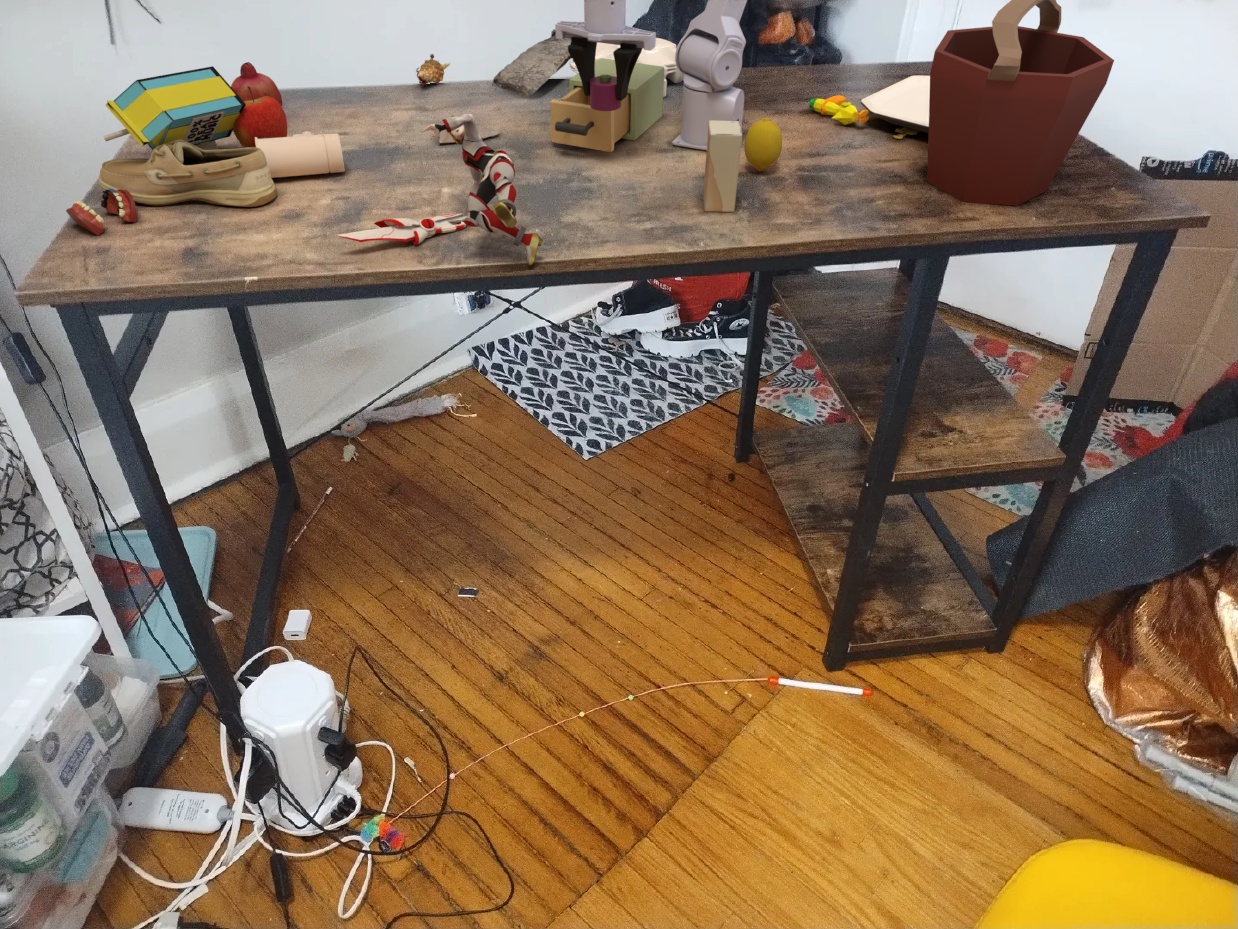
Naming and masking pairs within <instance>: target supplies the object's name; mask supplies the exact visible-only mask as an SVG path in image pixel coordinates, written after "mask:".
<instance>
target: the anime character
mask: <svg viewBox="0 0 1238 929" xmlns="http://www.w3.org/2000/svg"><path fill="white" fill-rule="evenodd" d="M441 121H442V122H443V124H437V123H431V124H429V125H427V126H426V127H425V128H424V129H423V130H422V133H425V132H429V131H431V132H433V133H434V134H429V136H430V137H431V138H435V137H437V136H438V135H440V132H441V131H443V130H445V129H446V130H447V132H448V133H449V134H450V135H451V137H452V138H453V141H454V140H455V142H454V143H455V144H456V145H461V150H462V161H463V163H464V164H465V165H466V166H467V167H468V168H469V170H470V174H471V175H470V176H471V178H472V180H473V184H472V185H473V186H472V188H471V190H470V192H469V193H468V198H467V199H468V200H467V210H468V211H467V215H465V216H464V213H448V214H441V215H435V216H430V217H427V218H421V219H420V220H414V219H411V218H405V217H404V218H402V217H396V218H386V219H382V220H377V221H375V222H374V225H375V226H377V227H378V228H372V229H364V230H359V231H353V232H346V233H341V234H335V236H336V237H340V238H343V239H347V240H350V241H354V242H358V243H365V242H373V241H398V242H405V243H407V242H411V241H412V243H413V245H414V246H417V245H419V244H420V243H422V242H423V241H424V240H425V239H426V238H431V237H434V235H435V234H439V233H440V234H441V233H442V234H444V233H452V232H456V231H457V230H458V231H459V230H464V229H465V228H466V227H471V228H481V229H482V230H484V231H486V232H489V233H493V234H496V233H497V234H500V235H503V236H506V237H508V238H510V239H512V240H513V243H512V244H513V245H515V246H516V247H519V246H520V245H521V246H523V247H524V248H525V251H526V262H527V264H526V265H527V266H528V267H532V266H533V264H534V262H535V260H536V257H537V250H538V247H541V246H542V245H543V239H542V237H541V236H540V235H539V234H538V232H539V230H538V229H535V232H531V233H527V232H526V231H527V229H528V228H527V227H525V226H523V225H521V226H520V227H519V228H518V227H517V226H516V225H517V222H518V221H517V218H516V216H517V207H516V204H515V202H516V198H517V189H516V188H515V187H514V185H513V182H514V180H515V177H516V169H515V164H514V163H513V160H512V159H511V157H510V155H509V154H508V152H506V151H505V150H503V149H501V150H500V149H499V150H494V149H493V148H491V147H490V146H488V145H487V144H486V143H485V142H484V140H483V138H481V137H480V135H479V133H478V130H477V128H478V127H477V124H476V123H477V122H476V120H475V118H474V115H473V114H472V113H463V114H459V115H453V114H452V115H451V117H447V118H444V119H442V120H441ZM494 197H496V199H497V202H496V203H494V205H493V206H492V210H491V208H490V207H489V206H488V205H489V203H490V202H491V201H492V200H493V199H494ZM511 210H512V211H511ZM458 222H460V223H459V224H457V223H458Z"/></svg>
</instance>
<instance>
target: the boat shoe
mask: <svg viewBox="0 0 1238 929" xmlns="http://www.w3.org/2000/svg"><path fill="white" fill-rule="evenodd" d="M98 185H99V186H100V188H101V189H102V190H103V191H104V190H106V189H114V190H119V189H124V190H127V191H129V192H130V194H131V195H132V197H133V199H134V202H135V203H137V204H142V205H146V206H147V205H148V206H170V205H175V204H179V203H183V202H188V201H189V202H191V201H200V202H205V203H208V204H213V205H217V206H226V207H228V206H229V207H238V208H239V207H240V208H255V207H260V206H263V205H265V204H268V203H270V202H271V201H273V200H274V199H275V198H276V197H277V195H278V192H277V191H278V190H277V188H276V185H275V183H274V180H273V178H271V174H270V171H269V168H268V166H267V162H266V158H265V155H264V153H263V151H262V150H261V149H260V148H256V147H248V148H244V147H237V148H227V149H225V148H224V149H223V148H222V149H221V148H220V149H219V148H218V149H217V150H202V149H200V148H198V147H197V146H195V145H193V144H191V143H189V142H186V141H183V140H175V141H170V142H167V143H164V144H162V145H160V146H158V147H156V148H154V150H152V151H151V154H150V157H149V158H148V157H147V158H145V157H144V158H143V157H142V158H139V157H138V158H136V157H135V158H115V159H110V160H107V161H104V162H103V163H102V164H101V167H100V170H99V175H98Z"/></svg>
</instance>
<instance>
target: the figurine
mask: <svg viewBox="0 0 1238 929" xmlns="http://www.w3.org/2000/svg"><path fill="white" fill-rule="evenodd" d="M429 57H430V59H424V63H422V64H421V65H420V67H416V68H415V69H416V70H415V69H414V71H415V72H416V75H415V76H416V78H417V79H418V85H419V84H420V85H421V86H420V87H423V86H426V85H427V84H430V83H435V84H437V85H438V84H439V83H440V82H442V81H444V75H445V70H446V69H447V68H448V67H450V65H451V61H450V62H446V63H444V64H441V63H440V61H438V60H435V55H434V53H430V55H429ZM423 88H425V87H423Z"/></svg>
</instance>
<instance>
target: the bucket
mask: <svg viewBox="0 0 1238 929" xmlns="http://www.w3.org/2000/svg"><path fill="white" fill-rule="evenodd" d="M1035 6H1036V7H1037V8H1038V10H1039V24H1038V26H1037V28H1031V27H1026V26H1019V24H1020V23H1021V21H1022V20H1023V18H1024V17H1025V16H1026V15H1027V14H1028V13H1029V12H1030V11H1031V10H1032V9H1033V8H1034V7H1035ZM1061 24H1062V6H1061V5H1060V4H1059V3H1058V2H1057V0H1010V1H1008V2H1007V3H1005V5H1004V6H1002V8H1000V9H999V10H998V11H997V12H996V14H995V16H994V17H993V19H992V21H991V25H992V26H982V27H971V28H959V29H949V30H947V31H946V33H945V34H944V36H943V37H942V39H941V40H940V42H939V44H938V45H937V47H936V48H935V50H934V54H933V58H932V63H931V68H930V72H929V76H930V98H929V133H928V135H927V136H928V140H927V141H928V143H927V145H928V146H927V173H926V174H927V176H926V180H927V181H926V182H927V183H928V184H930V185H932V186H934V187H935V188H937V189H939V190H941V191H943V192H945V193H946V194H948V195H950V196H952V197H954V198H955V199H957V200H959V201H961V202H963V203H967V202H968V203H976V204H987V205H989V204H990V205H1002V206H1015V207H1018V206H1020V205H1023V204H1024V203H1026V202H1028V201H1030V200H1031V199H1034V198H1036V197H1038V196H1041V194H1043V193H1045V192H1047V191H1048V189H1049V187H1050V185H1051V183H1052V182H1053V180H1054V179H1055V176H1056V174H1057V173H1058V171H1059V169H1060V167H1061V166H1062V164H1063V162H1064V160H1065V159H1066V157H1067V155H1068V153H1069V151H1070V149H1071V148H1072V146H1073V144H1074V142H1075V140H1076V139H1077V137H1078V135H1079V134H1080V132H1081V130H1082V128H1083V126H1084V125H1085V122H1086V121H1087V119H1088V117H1089V116H1090V114H1091V112H1092V111H1093V108H1094V106H1095V105H1096V103H1097V101H1098V100H1099V98H1100V95H1101V94H1102V93H1103V91H1104V89H1105V87H1106V85H1107V83H1108V80H1109V77H1110V74H1111V71H1112V69H1113V66H1114V62H1115V59H1113V58H1112V57H1111V56H1109V55H1108V54H1107V53H1105V52H1104V51H1102V50H1101V49H1100V48H1098V47H1097V46H1096V45H1095V44H1093V43H1092V42H1090V41H1089V40H1088V39H1086V38H1085V37H1084V36H1079V35H1074V34H1067V33H1061V32H1059V29H1060V27H1061Z"/></svg>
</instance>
